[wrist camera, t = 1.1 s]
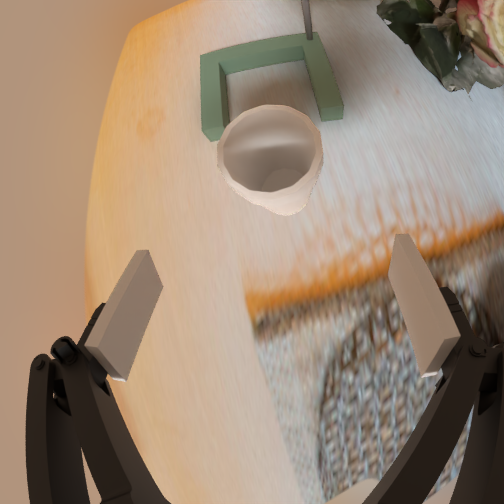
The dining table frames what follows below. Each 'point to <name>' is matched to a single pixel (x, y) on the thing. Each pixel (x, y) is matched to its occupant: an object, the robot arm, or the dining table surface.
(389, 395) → the dining table surface
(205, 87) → the putting pocket
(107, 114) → the dining table surface
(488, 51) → the rose bouquet
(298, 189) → the foam cup
